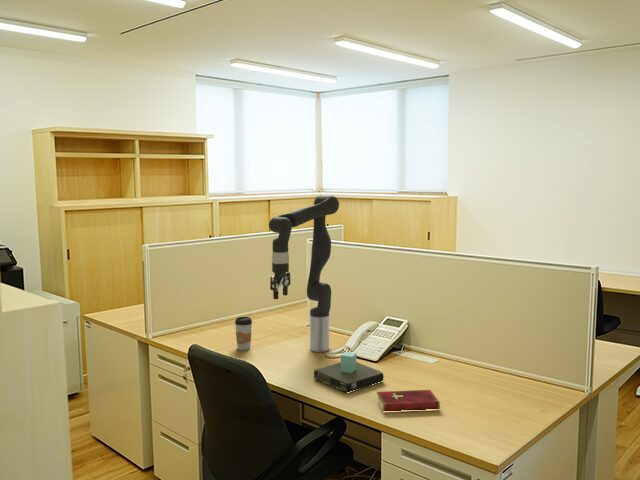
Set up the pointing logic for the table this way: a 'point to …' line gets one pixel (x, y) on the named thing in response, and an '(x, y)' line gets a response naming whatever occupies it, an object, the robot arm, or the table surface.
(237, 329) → the coffee cup
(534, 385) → the table surface
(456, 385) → the table surface
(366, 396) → the table surface
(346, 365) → the teal block
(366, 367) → the network switch
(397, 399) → the hardcover book
